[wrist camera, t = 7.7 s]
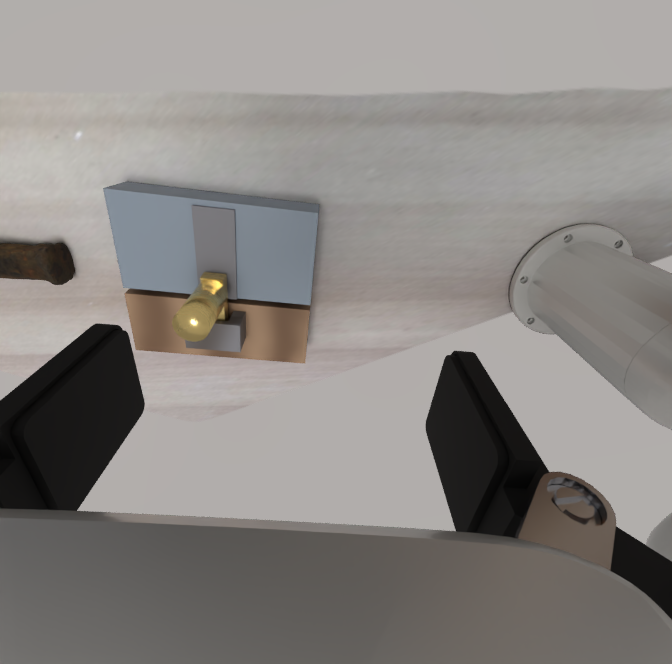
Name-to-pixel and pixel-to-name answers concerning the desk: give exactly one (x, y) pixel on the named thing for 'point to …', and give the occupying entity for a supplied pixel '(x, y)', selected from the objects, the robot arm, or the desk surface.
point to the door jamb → (222, 328)
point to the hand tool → (36, 262)
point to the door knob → (203, 308)
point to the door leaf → (213, 241)
